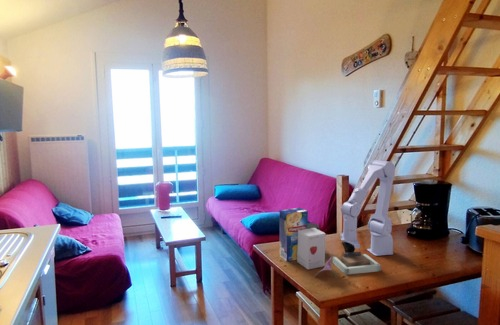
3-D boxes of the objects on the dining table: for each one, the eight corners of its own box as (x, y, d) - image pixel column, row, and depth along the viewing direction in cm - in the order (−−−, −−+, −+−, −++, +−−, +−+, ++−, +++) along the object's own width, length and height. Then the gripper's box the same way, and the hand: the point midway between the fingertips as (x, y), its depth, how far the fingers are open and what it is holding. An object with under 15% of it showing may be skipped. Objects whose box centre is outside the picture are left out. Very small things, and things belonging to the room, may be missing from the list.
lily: (333, 270, 157) (322, 251, 157) (352, 269, 147) (341, 248, 147) (315, 286, 150) (304, 266, 151) (334, 287, 140) (321, 265, 141)
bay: (365, 259, 166) (365, 254, 165) (380, 270, 154) (380, 265, 153) (332, 262, 163) (332, 257, 162) (345, 274, 150) (345, 268, 150)
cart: (362, 262, 163) (363, 251, 162) (370, 269, 156) (371, 257, 155) (339, 265, 160) (339, 253, 160) (346, 272, 154) (346, 259, 153)
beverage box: (307, 257, 169) (308, 211, 165) (286, 261, 164) (287, 214, 161) (299, 252, 175) (299, 207, 172) (279, 256, 170) (279, 210, 167)
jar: (309, 254, 172) (309, 229, 171) (297, 248, 179) (298, 225, 177) (323, 249, 177) (323, 226, 176) (311, 244, 184) (311, 221, 182)
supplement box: (307, 270, 155) (308, 236, 153) (296, 262, 163) (297, 229, 161) (325, 266, 159) (326, 233, 157) (313, 258, 167) (314, 227, 165)
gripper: (334, 224, 169) (333, 252, 170) (349, 235, 154) (348, 265, 156) (348, 223, 170) (347, 251, 172) (364, 233, 156) (363, 263, 158)
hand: (349, 258), depth 164 cm, fingers closed
